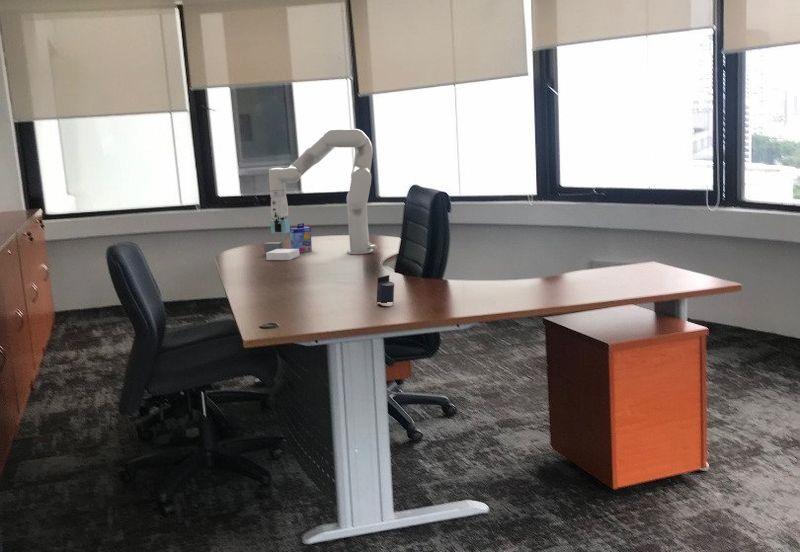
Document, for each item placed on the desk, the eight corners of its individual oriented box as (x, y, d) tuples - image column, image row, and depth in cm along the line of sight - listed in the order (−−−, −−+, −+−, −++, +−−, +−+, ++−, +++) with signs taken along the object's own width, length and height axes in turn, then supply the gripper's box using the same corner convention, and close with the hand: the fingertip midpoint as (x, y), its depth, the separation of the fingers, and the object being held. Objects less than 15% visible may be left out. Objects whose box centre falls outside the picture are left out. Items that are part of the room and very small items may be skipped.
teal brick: (290, 232, 442) (289, 219, 441) (286, 233, 438) (285, 221, 437) (275, 232, 445) (274, 219, 444) (271, 233, 441) (270, 221, 440)
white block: (299, 255, 448) (299, 248, 447) (289, 260, 436) (288, 252, 436) (277, 255, 452) (277, 248, 451) (266, 259, 440) (266, 252, 440)
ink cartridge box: (295, 253, 456) (292, 224, 454) (290, 252, 461) (288, 223, 459) (312, 250, 461) (310, 222, 459) (308, 249, 466) (306, 221, 463)
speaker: (372, 303, 327) (373, 275, 325) (387, 302, 330) (388, 274, 327) (380, 309, 321) (381, 281, 318) (395, 308, 323) (396, 279, 320)
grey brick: (283, 253, 457) (282, 242, 456) (279, 255, 453) (278, 243, 452) (269, 253, 460) (268, 242, 459) (265, 255, 456) (264, 243, 455)
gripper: (277, 195, 429) (279, 233, 433) (292, 191, 445) (295, 228, 448) (263, 195, 432) (265, 233, 435) (278, 192, 447) (281, 228, 451)
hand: (280, 230), depth 442 cm, fingers closed on teal brick, 4 cm apart
